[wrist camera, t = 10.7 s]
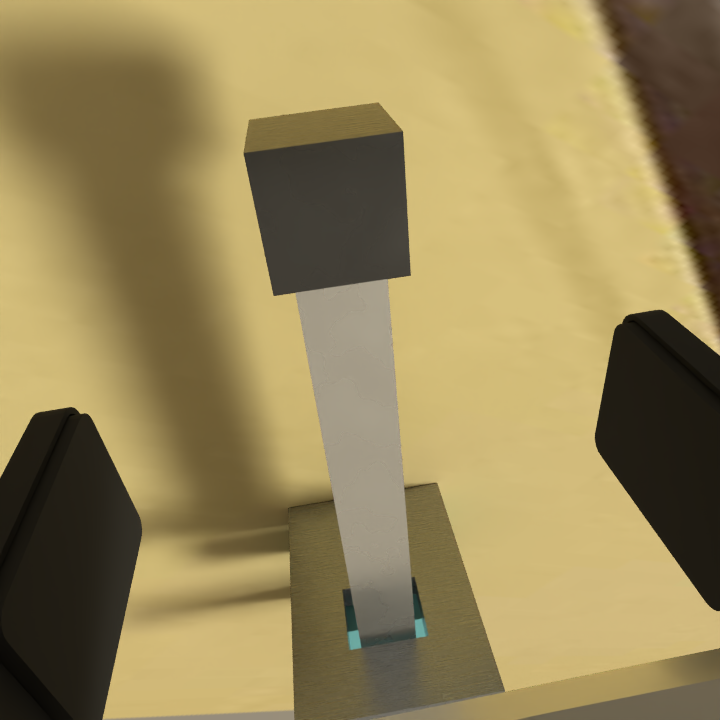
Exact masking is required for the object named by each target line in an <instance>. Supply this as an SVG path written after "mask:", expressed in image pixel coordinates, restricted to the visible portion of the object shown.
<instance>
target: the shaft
mask: <svg viewBox="0 0 720 720" xmlns="http://www.w3.org/2000/svg"><path fill="white" fill-rule="evenodd" d="M244 157H245V162H246V167H247V172H248V176H249V181H250V186H251V190H252V195H253V200H254V205H255V209H256V214H257V219H258V224H259V228H260V233H261V238H262V243H263V247H264V252H265V257H266V262H267V266H268V271H269V276H270V280H271V285H272V290H273V295H274V296H277V295H283V294H290V293H296V298H297V303H298V309H299V314H300V319H301V325H302V330H303V336H304V341H305V346H306V352H307V357H308V363H309V368H310V373H311V379H312V384H313V389H314V395H315V400H316V406H317V411H318V416H319V422H320V427H321V433H322V438H323V443H324V449H325V454H326V460H327V465H328V470H329V476H330V481H331V487H332V492H333V497H334V503H335V508H336V513H337V519H338V524H339V530H340V535H341V540H342V546H343V551H344V557H345V562H346V567H347V573H348V578H349V584H350V589H351V594H352V600H353V605H354V611H355V616H356V621H357V627H358V632H359V637H360V643H361V648H364V647H370V646H375V645H381V644H386V643H392V642H397V641H403V640H408V639H414V638H416V630H415V618H414V605H413V593H412V580H411V567H410V555H409V542H408V530H407V517H406V504H405V492H404V479H403V467H402V454H401V442H400V429H399V416H398V404H397V391H396V379H395V366H394V353H393V341H392V328H391V316H390V303H389V290H388V279H391V278H398V277H404V276H411V273H410V254H409V236H408V217H407V198H406V179H405V161H404V142H403V131H402V130H401V128H400V127H399V126H398V125H397V124H396V123H395V121H394V120H393V119H392V118H391V117H390V116H389V114H388V113H387V112H386V111H385V110H384V109H383V107H382V106H381V105H380V104H379V103H372V104H364V105H357V106H349V107H342V108H334V109H327V110H319V111H312V112H304V113H297V114H289V115H282V116H274V117H267V118H259V119H252V120H249V124H248V130H247V136H246V142H245V148H244Z"/></svg>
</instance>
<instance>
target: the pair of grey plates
mask: <svg viewBox="0 0 720 720" xmlns="http://www.w3.org/2000/svg"><path fill="white" fill-rule="evenodd" d="M404 492H405V504H406V517H407V530H408V542H409V555H410V567H411V580H412V593H413V594H416V596H417V601H418V605H419V609H420V613H421V618H422V622H423V626H424V631H425V635H426V636H425V637H419V638H414V639H408V640H403V641H397V642H392V643H386V644H381V645H375V646H370V647H364V648H359V649H353V650H351V648H350V640H349V631H348V623H347V614H346V606H350V605H353V600H352V594H351V589H350V584H349V578H348V573H347V567H346V562H345V557H344V551H343V546H342V540H341V535H340V530H339V524H338V519H337V513H336V508H335V503H334V501H328V502H323V503H317V504H311V505H305V506H299V507H293V508H288V513H289V547H290V581H291V616H292V650H293V684H294V717H295V720H372V719H377V718H382V717H387V716H392V715H397V714H401V713H406V712H411V711H416V710H421V709H425V708H430V707H435V706H440V705H445V704H449V703H454V702H459V701H464V700H469V699H474V698H478V697H483V696H488V695H493V694H498V693H503V692H505V689H504V686H503V683H502V680H501V677H500V674H499V671H498V668H497V665H496V662H495V659H494V656H493V653H492V650H491V647H490V644H489V640H488V637H487V634H486V631H485V628H484V625H483V622H482V619H481V616H480V613H479V610H478V607H477V604H476V601H475V598H474V594H473V591H472V588H471V585H470V582H469V579H468V576H467V573H466V570H465V567H464V564H463V561H462V558H461V555H460V552H459V549H458V545H457V542H456V539H455V536H454V533H453V530H452V527H451V524H450V521H449V518H448V515H447V512H446V509H445V506H444V503H443V499H442V496H441V493H440V490H439V487H438V484H437V483H436V484H430V485H424V486H418V487H412V488H406V489H404Z"/></svg>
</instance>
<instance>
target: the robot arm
mask: <svg viewBox="0 0 720 720" xmlns="http://www.w3.org/2000/svg"><path fill="white" fill-rule="evenodd" d="M595 443H596V447H597V449H598V452H599V453H600V455H601V456H602V458H603V459H604V461H605V462H606V463H607V465H608V466H609V468H610V469H611V470H612V472H613V473H614V475H615V476H616V477H617V479H618V480H619V482H620V483H621V484H622V486H623V487H624V489H625V490H626V491H627V493H628V494H629V496H630V497H631V498H632V500H633V501H634V503H635V504H636V505H637V507H638V508H639V509H640V511H641V512H642V514H643V515H644V516H645V518H646V519H647V521H648V522H649V523H650V525H651V526H652V528H653V529H654V530H655V532H656V533H657V535H658V536H659V537H660V539H661V540H662V542H663V543H664V544H665V546H666V547H667V549H668V550H669V551H670V553H671V554H672V556H673V557H674V558H675V560H676V561H677V563H678V564H679V565H680V567H681V568H682V570H683V571H684V572H685V574H686V575H687V577H688V578H689V579H690V581H691V582H692V584H693V585H694V586H695V588H696V589H697V590H698V592H699V593H700V595H701V596H702V597H703V599H704V600H705V602H706V603H707V604H708V605H709V606H710V607H711V608H712V609H714V610H716V611H720V356H719V355H718V354H717V353H716V352H715V351H713V350H712V349H711V348H710V347H708V346H707V345H706V344H705V343H704V342H702V341H701V340H700V339H699V338H697V337H696V336H695V335H694V334H692V333H691V332H690V331H689V330H688V329H686V328H685V327H684V326H683V325H681V324H680V323H679V322H678V321H677V320H675V319H674V318H673V317H672V316H670V315H669V314H668V313H667V312H665V311H663V310H654V311H648V312H642V313H636V314H630V315H628V316H626V317H625V319H624V320H623V323H622V324H619V325H617V327H616V328H615V331H614V335H613V340H612V346H611V351H610V357H609V362H608V367H607V373H606V378H605V383H604V389H603V394H602V400H601V405H600V410H599V416H598V421H597V427H596V432H595ZM141 536H142V526H141V520H140V517H139V515H138V513H137V510H136V508H135V506H134V504H133V502H132V500H131V498H130V496H129V494H128V492H127V490H126V488H125V486H124V484H123V482H122V480H121V478H120V476H119V474H118V472H117V469H116V467H115V465H114V463H113V461H112V459H111V457H110V455H109V453H108V451H107V449H106V447H105V445H104V443H103V441H102V439H101V437H100V435H99V433H98V431H97V428H96V426H95V424H94V422H93V420H92V419H91V417H90V416H89V415H88V414H85V413H84V414H80V413H79V412H78V411H77V410H76V409H75V408H72V407H69V408H63V409H57V410H51V411H45V412H39V413H36V414H35V415H34V416H33V417H32V419H31V420H30V422H29V424H28V426H27V428H26V430H25V432H24V434H23V436H22V438H21V440H20V441H19V443H18V445H17V447H16V449H15V451H14V453H13V455H12V457H11V459H10V461H9V462H8V464H7V466H6V468H5V470H4V472H3V474H2V476H1V478H0V720H102V718H103V714H104V709H105V704H106V700H107V695H108V690H109V686H110V681H111V676H112V672H113V667H114V663H115V658H116V653H117V649H118V644H119V639H120V635H121V630H122V625H123V621H124V616H125V611H126V607H127V602H128V597H129V593H130V588H131V584H132V579H133V574H134V570H135V565H136V560H137V556H138V551H139V546H140V542H141ZM372 720H720V648H719V649H714V650H709V651H704V652H700V653H695V654H690V655H685V656H680V657H675V658H670V659H665V660H660V661H655V662H650V663H645V664H640V665H635V666H630V667H625V668H620V669H615V670H610V671H605V672H600V673H595V674H590V675H585V676H580V677H576V678H571V679H566V680H561V681H556V682H551V683H546V684H541V685H537V686H532V687H527V688H522V689H517V690H512V691H508V692H503V693H498V694H493V695H488V696H483V697H478V698H474V699H469V700H464V701H459V702H454V703H449V704H445V705H440V706H435V707H430V708H425V709H421V710H416V711H411V712H406V713H401V714H397V715H392V716H387V717H382V718H377V719H372Z"/></svg>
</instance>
